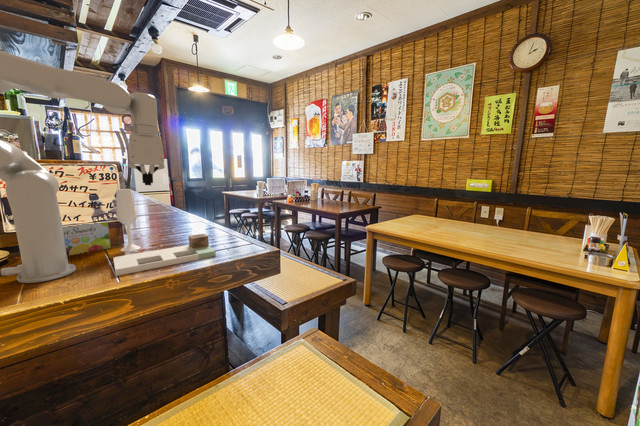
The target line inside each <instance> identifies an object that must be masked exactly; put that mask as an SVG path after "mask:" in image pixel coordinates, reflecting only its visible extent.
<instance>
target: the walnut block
mask: <svg viewBox="0 0 640 426" xmlns="http://www.w3.org/2000/svg"><path fill="white" fill-rule="evenodd" d="M188 245H189V246H190V247H191V248H192V249H194V248H199V247H205V246H210V244H209V235H208V234H206V233H198V234H193V235H188Z"/></svg>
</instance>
